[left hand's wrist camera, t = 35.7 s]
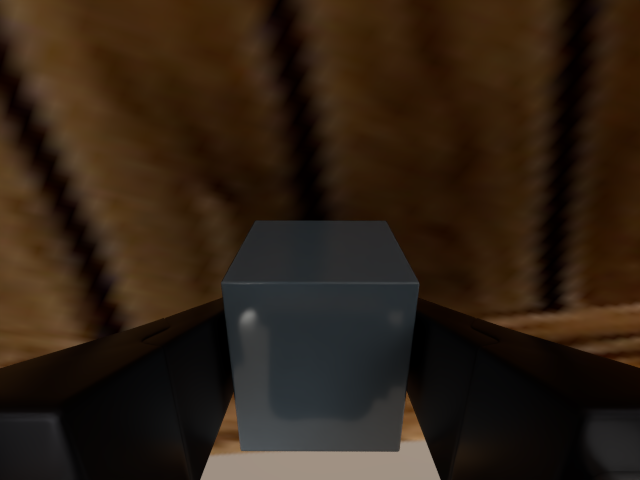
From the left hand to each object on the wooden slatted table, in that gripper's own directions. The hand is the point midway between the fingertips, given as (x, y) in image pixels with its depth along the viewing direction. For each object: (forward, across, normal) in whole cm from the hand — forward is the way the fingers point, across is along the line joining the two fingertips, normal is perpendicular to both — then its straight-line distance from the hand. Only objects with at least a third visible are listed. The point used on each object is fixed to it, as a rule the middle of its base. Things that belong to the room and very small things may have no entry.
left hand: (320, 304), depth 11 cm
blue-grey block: (+1, 0, 0) cm, 1 cm away
